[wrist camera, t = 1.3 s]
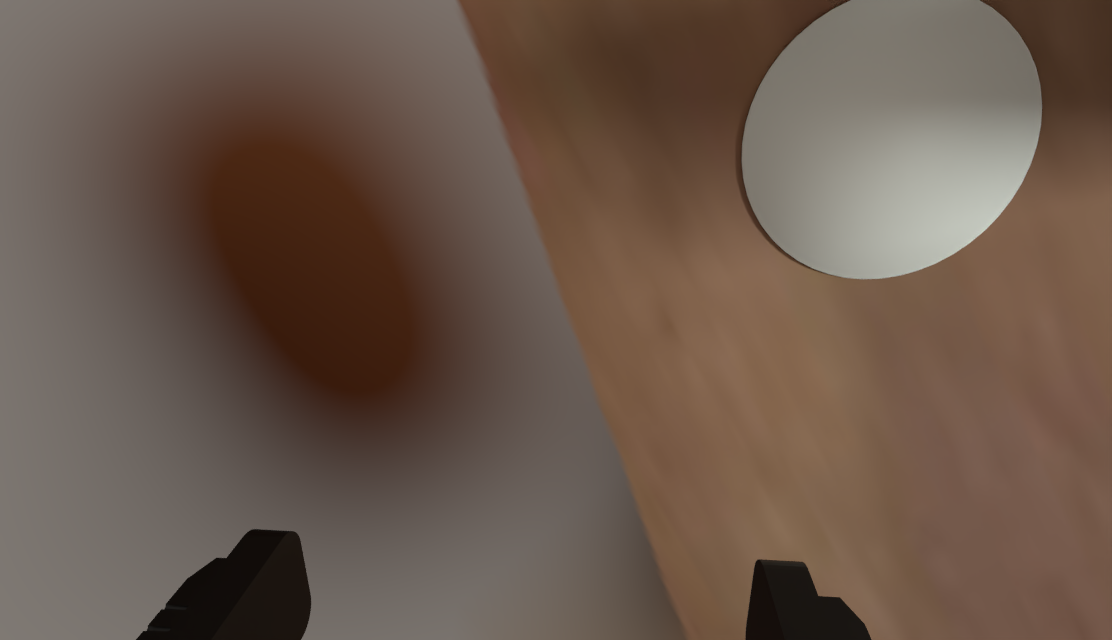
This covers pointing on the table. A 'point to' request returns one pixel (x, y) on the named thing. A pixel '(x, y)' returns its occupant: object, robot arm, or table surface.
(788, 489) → the table surface
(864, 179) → the disc
